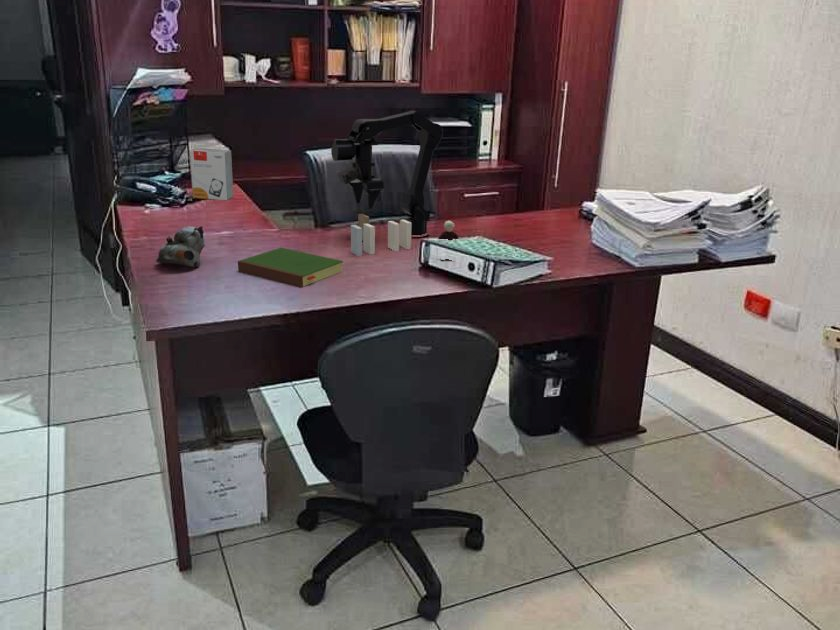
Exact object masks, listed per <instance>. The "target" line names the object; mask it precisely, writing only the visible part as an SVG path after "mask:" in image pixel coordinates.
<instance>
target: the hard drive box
mask: <svg viewBox="0 0 840 630" xmlns="http://www.w3.org/2000/svg"><path fill="white" fill-rule="evenodd" d="M232 159H233V158H232V150H230V149H220V148H218V149H216V148H215V149H214V148H203V147H196V148H191V149H189V163H190V178H191V189H192V190H191V191H192V193H191V194H192V198H193V199H199V200H202V199H203V200H204V199H205V200H217V201H229V200H230V199H232V198H234V182H233V181H234V179H233V178H234V177H233V165H232V164H233V161H232Z"/></svg>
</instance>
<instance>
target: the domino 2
mask: <svg viewBox="0 0 840 630" xmlns="http://www.w3.org/2000/svg"><path fill="white" fill-rule="evenodd" d="M357 217H358V221H357V222H358V223H357V226H359V227H361V228H362V241H363V224H367V223H368V224H370V216H369V215H366V214H364V213H358V215H357Z"/></svg>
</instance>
